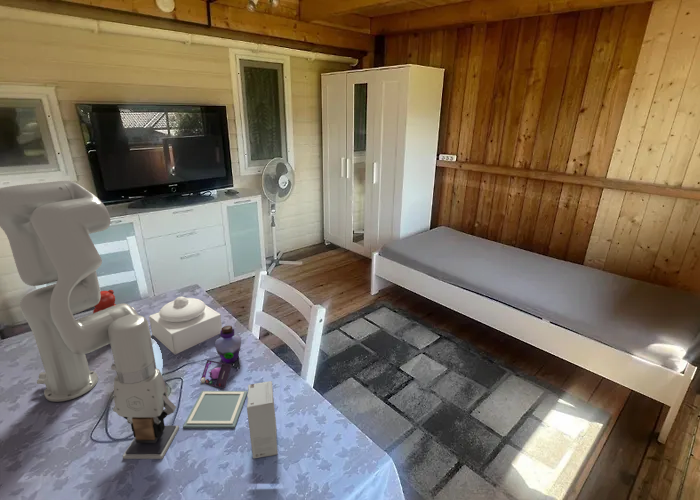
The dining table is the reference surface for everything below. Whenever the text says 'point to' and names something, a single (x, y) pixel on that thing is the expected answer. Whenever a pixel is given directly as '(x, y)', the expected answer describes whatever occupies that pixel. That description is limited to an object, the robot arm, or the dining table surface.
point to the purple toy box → (216, 374)
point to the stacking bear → (105, 301)
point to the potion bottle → (228, 345)
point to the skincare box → (262, 419)
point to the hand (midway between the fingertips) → (149, 432)
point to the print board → (216, 409)
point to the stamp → (144, 429)
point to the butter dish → (185, 324)
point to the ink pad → (152, 446)
